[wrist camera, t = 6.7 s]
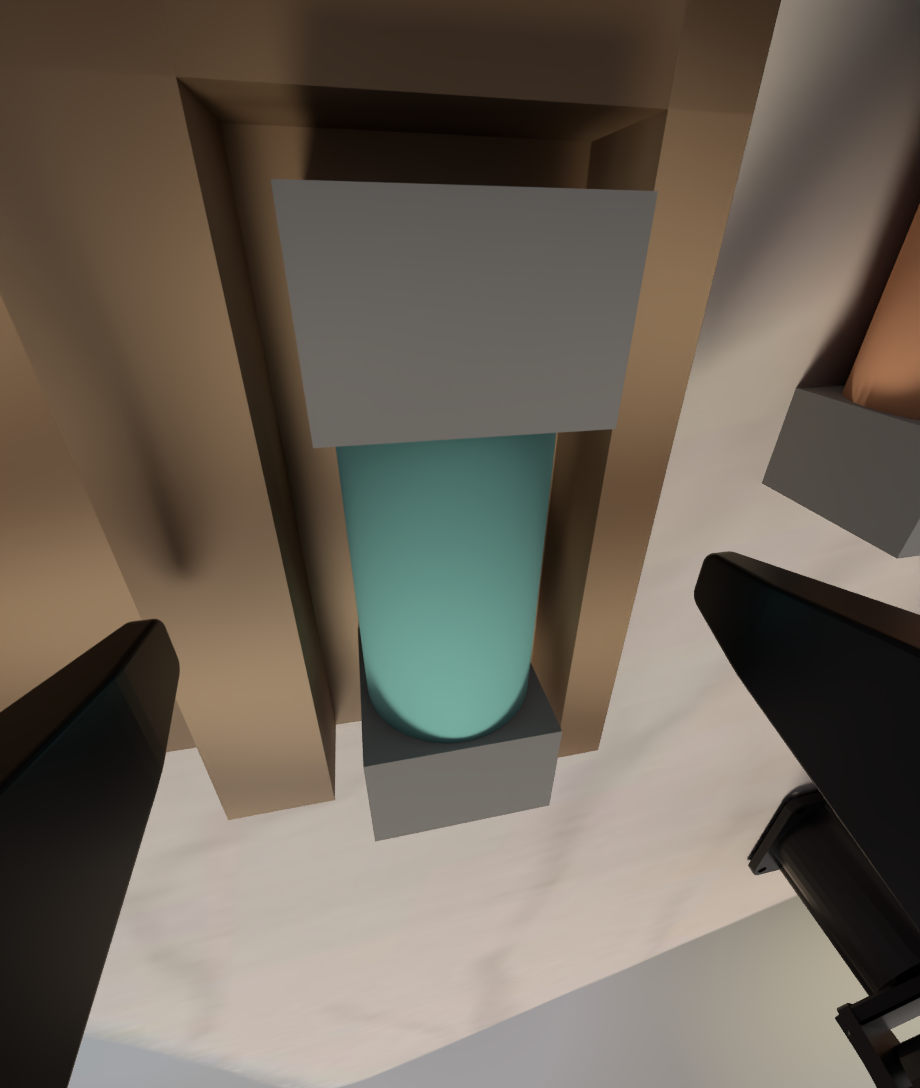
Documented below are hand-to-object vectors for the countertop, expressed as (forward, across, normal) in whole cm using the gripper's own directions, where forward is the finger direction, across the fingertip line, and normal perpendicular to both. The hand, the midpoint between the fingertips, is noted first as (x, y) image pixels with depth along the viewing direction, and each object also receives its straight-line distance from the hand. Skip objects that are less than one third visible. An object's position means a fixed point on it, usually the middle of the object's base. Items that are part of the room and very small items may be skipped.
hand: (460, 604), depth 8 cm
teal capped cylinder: (+3, 0, 0) cm, 3 cm away
